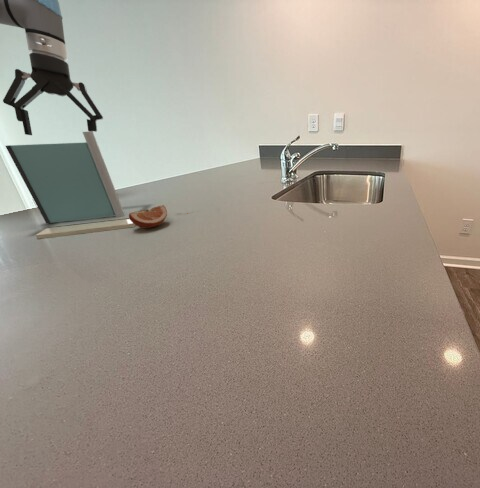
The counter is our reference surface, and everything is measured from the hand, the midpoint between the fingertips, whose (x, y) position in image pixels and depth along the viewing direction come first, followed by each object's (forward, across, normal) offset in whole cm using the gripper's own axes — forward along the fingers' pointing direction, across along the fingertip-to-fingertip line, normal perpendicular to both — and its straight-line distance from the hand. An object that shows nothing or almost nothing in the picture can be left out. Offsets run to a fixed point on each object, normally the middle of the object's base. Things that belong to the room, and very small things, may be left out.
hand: (61, 138), depth 77 cm
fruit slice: (+20, +22, -34) cm, 45 cm away
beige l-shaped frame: (+21, +9, -21) cm, 31 cm away
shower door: (+20, +6, -16) cm, 26 cm away
